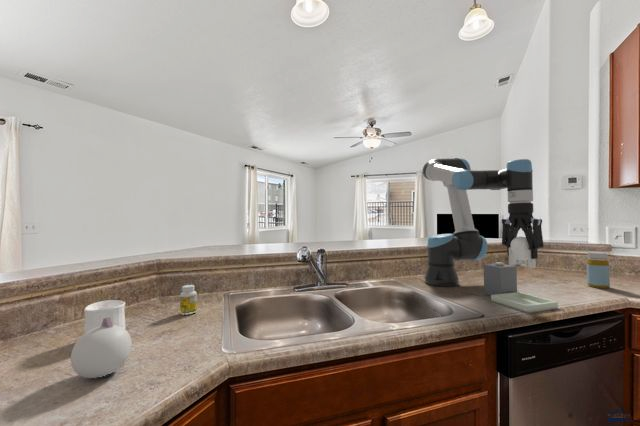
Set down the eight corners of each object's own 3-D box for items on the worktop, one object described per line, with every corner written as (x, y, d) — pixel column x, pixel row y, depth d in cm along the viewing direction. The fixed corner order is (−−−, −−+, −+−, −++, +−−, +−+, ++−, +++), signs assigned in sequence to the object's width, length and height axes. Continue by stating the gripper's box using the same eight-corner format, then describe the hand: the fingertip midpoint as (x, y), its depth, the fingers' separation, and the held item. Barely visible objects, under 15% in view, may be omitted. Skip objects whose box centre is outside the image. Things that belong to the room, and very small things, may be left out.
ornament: (140, 360, 67) (139, 309, 67) (115, 385, 57) (115, 325, 57) (92, 364, 65) (91, 312, 66) (58, 391, 55) (57, 330, 55)
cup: (93, 350, 73) (93, 312, 73) (75, 342, 78) (75, 307, 78) (132, 336, 81) (132, 302, 81) (114, 330, 86) (114, 297, 86)
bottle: (613, 287, 122) (612, 252, 122) (604, 289, 120) (603, 253, 120) (592, 284, 129) (591, 251, 129) (583, 285, 126) (582, 252, 126)
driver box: (483, 293, 118) (482, 261, 118) (498, 291, 120) (497, 260, 120) (501, 298, 110) (500, 265, 110) (517, 296, 112) (516, 263, 112)
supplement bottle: (200, 312, 101) (200, 285, 101) (186, 316, 96) (186, 288, 96) (190, 309, 103) (190, 283, 104) (177, 314, 99) (176, 286, 99)
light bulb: (537, 268, 98) (536, 237, 98) (516, 268, 100) (515, 237, 100) (527, 265, 105) (526, 235, 105) (507, 265, 106) (506, 235, 106)
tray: (491, 300, 107) (490, 295, 107) (519, 297, 111) (519, 291, 111) (527, 312, 93) (526, 306, 93) (558, 308, 97) (558, 301, 97)
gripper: (489, 204, 111) (490, 262, 111) (539, 201, 92) (541, 271, 92) (504, 203, 113) (506, 261, 113) (556, 201, 94) (558, 270, 94)
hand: (522, 266), depth 102 cm, fingers closed on light bulb, 6 cm apart
